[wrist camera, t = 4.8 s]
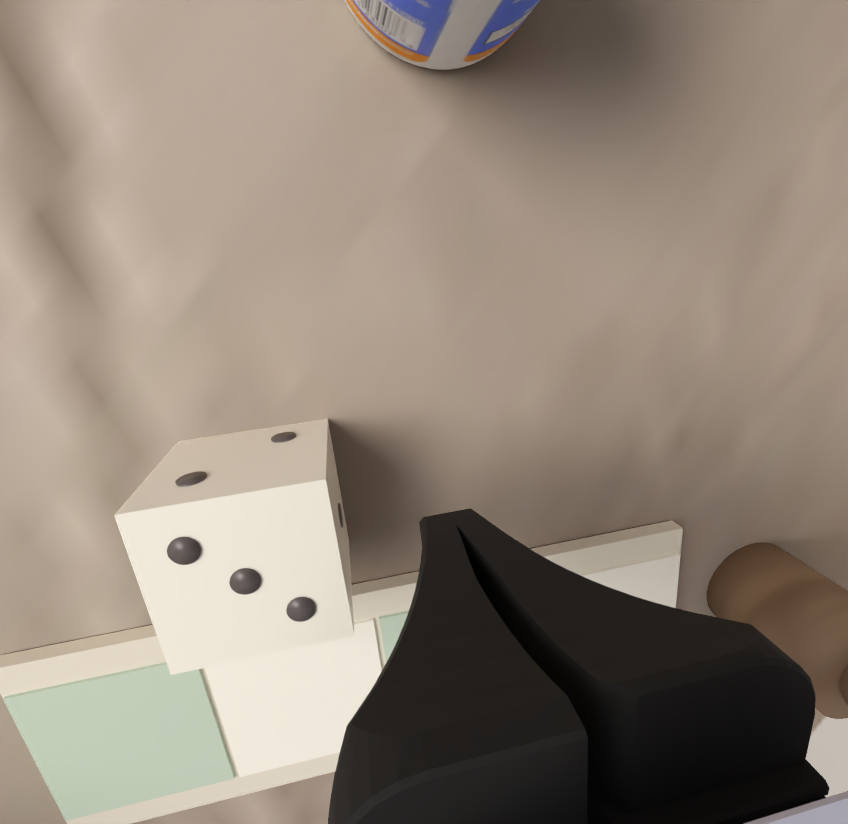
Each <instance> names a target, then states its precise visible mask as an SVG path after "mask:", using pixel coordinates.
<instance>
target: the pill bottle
mask: <svg viewBox="0 0 848 824" xmlns="http://www.w3.org/2000/svg"><path fill="white" fill-rule="evenodd" d="M344 1H345V2H346V4H347V6H348V8H349V10H350V11H351V13H352V14H353V16H354V18H355V19H356V20H357V22H358V23H359V25H360V26H361V27H362V28H363V29H364V31H365V32H366V33H367V34H368V35H369V36H370V37H371V38H372V39H373V40H374V41H375V42H376V43H378V44H379V45H380V46H381V47H382V48H384V49H385V50H386V51H388V52H389V53H391V54H393V55H394V56H396V57H398V58H399V59H401V60H403V61H406V62H408V63H411V64H414V65H416V66H420V67H425V68H430V69H439V70H448V69H457V68H462V67H465V66H468V65H472V64H474V63H476V62H478V61H480V60H482V59H484V58H486V57H487V56H489V55H490V54H492V53H493V52H494V51H496V50H497V49H498V48H499V47H500V46H502V45H503V44H504V43H505V42H506V41H507V40H508V39H509V38H510V37H511V36H512V35H513V34H514V33H515V32H516V30H517V29H518V28H519V27H520V26H521V25H522V24H523V22H524V21H525V19H526V18H527V17H528V16H529V14H530V13H531V12H532V10H533V9H534V8H535V7H536V5H537V4H538V3H539V1H540V0H344Z"/></svg>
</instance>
